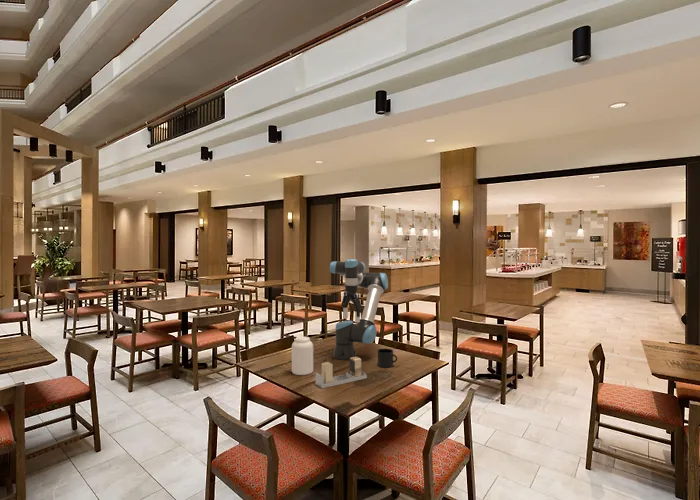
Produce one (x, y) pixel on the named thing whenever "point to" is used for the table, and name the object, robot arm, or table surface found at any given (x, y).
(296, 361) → the white jar
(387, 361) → the mug
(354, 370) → the beige upright block
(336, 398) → the table surface
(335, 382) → the rail
